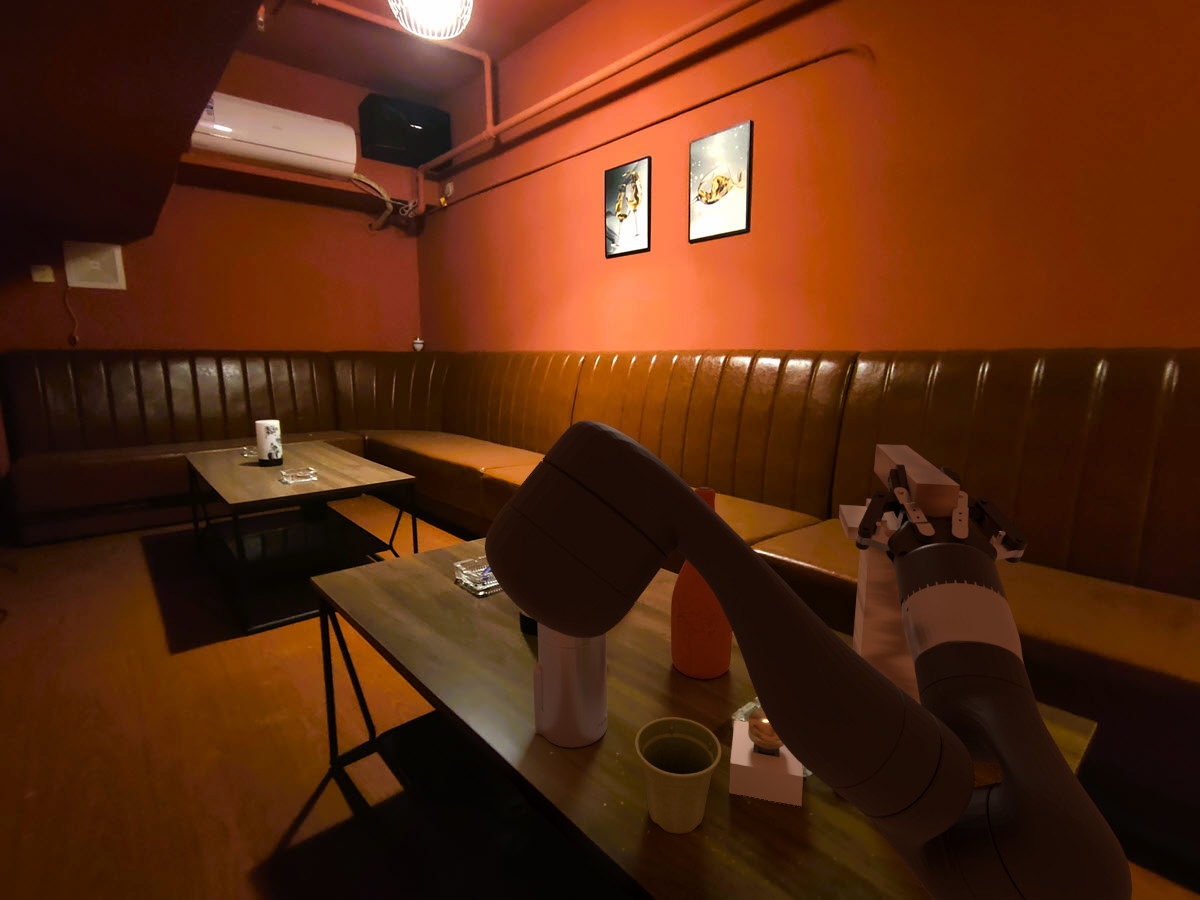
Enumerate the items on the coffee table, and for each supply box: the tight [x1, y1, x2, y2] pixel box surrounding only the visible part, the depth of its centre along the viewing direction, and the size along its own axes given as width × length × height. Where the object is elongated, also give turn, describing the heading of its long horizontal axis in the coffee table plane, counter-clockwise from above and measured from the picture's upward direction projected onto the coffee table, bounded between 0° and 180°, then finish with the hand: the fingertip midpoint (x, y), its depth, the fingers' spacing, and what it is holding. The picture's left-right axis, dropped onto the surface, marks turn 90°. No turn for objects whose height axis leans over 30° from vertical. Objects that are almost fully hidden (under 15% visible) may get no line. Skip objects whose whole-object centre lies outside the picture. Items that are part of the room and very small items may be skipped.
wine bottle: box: [670, 486, 733, 680], centre depth 92 cm, size 10×10×30 cm
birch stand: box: [838, 498, 921, 705], centre depth 69 cm, size 12×9×33 cm
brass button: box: [748, 709, 784, 756], centre depth 70 cm, size 4×4×4 cm
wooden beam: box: [873, 444, 960, 517], centre depth 63 cm, size 4×22×4 cm, turn 164°
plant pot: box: [634, 716, 722, 834], centre depth 64 cm, size 9×9×9 cm
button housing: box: [728, 719, 804, 807], centre depth 70 cm, size 8×8×4 cm
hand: (920, 472), depth 58 cm, fingers closed on wooden beam, 3 cm apart
